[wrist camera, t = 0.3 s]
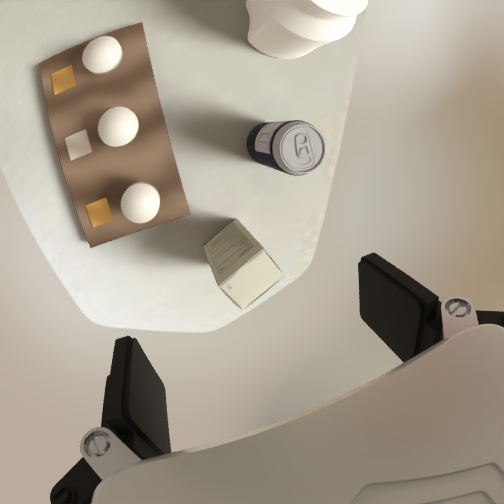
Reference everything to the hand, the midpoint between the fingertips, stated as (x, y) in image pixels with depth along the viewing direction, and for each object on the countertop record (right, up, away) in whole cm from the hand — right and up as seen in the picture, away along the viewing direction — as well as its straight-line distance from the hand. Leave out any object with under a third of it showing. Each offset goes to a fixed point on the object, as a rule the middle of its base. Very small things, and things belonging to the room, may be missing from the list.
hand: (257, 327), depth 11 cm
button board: (-18, +18, +21) cm, 33 cm away
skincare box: (-3, +4, +31) cm, 31 cm away
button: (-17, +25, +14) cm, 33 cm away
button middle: (-15, +17, +18) cm, 29 cm away
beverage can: (+2, +17, +27) cm, 32 cm away
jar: (+4, +34, +21) cm, 40 cm away
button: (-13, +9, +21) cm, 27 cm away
